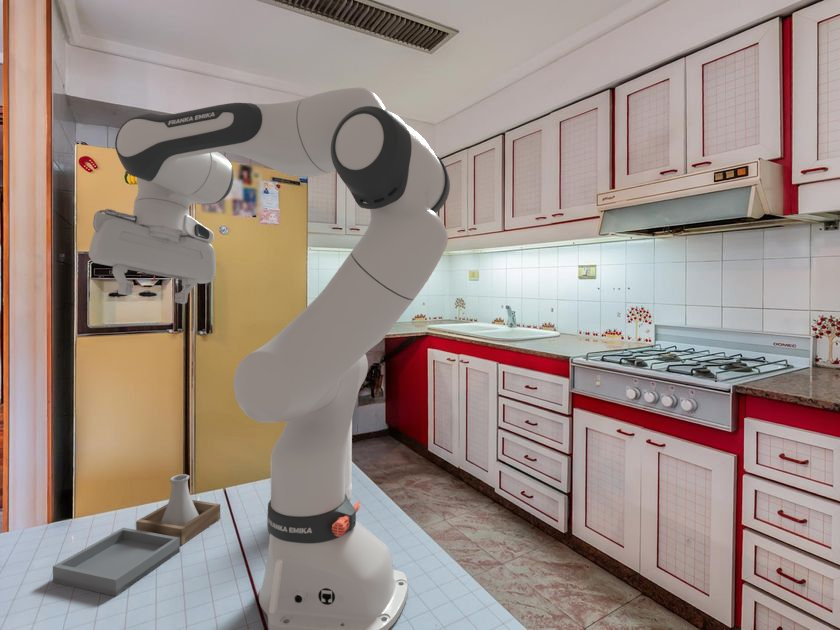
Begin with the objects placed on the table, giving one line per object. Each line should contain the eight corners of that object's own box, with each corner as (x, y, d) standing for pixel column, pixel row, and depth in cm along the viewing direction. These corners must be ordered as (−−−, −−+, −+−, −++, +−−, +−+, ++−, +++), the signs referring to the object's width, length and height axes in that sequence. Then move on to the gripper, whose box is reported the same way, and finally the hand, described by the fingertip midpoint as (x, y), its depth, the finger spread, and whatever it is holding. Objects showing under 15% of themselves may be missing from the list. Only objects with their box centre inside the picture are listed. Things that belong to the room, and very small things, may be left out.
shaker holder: (220, 518, 91) (220, 504, 91) (181, 545, 81) (181, 529, 81) (178, 512, 94) (178, 497, 94) (136, 537, 84) (136, 521, 84)
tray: (179, 551, 79) (179, 537, 79) (116, 596, 67) (115, 580, 67) (123, 540, 83) (123, 527, 82) (53, 582, 71) (52, 566, 70)
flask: (183, 539, 83) (182, 486, 83) (149, 535, 85) (148, 483, 84) (208, 521, 90) (208, 471, 90) (177, 516, 92) (177, 468, 91)
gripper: (103, 200, 71) (94, 285, 69) (222, 235, 88) (217, 305, 86) (87, 209, 75) (77, 290, 73) (204, 241, 92) (199, 308, 89)
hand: (154, 298), depth 79 cm, fingers open, 8 cm apart
